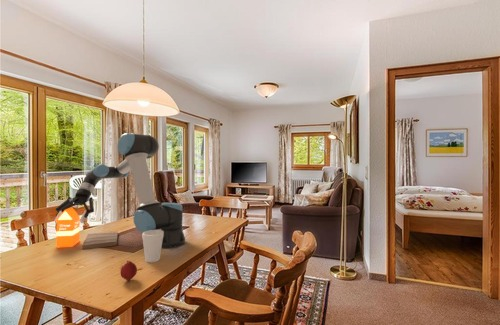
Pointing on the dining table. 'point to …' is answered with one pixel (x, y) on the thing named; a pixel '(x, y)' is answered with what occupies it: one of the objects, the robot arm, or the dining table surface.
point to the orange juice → (68, 228)
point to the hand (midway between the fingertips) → (68, 222)
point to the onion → (128, 270)
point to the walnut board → (100, 240)
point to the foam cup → (152, 244)
